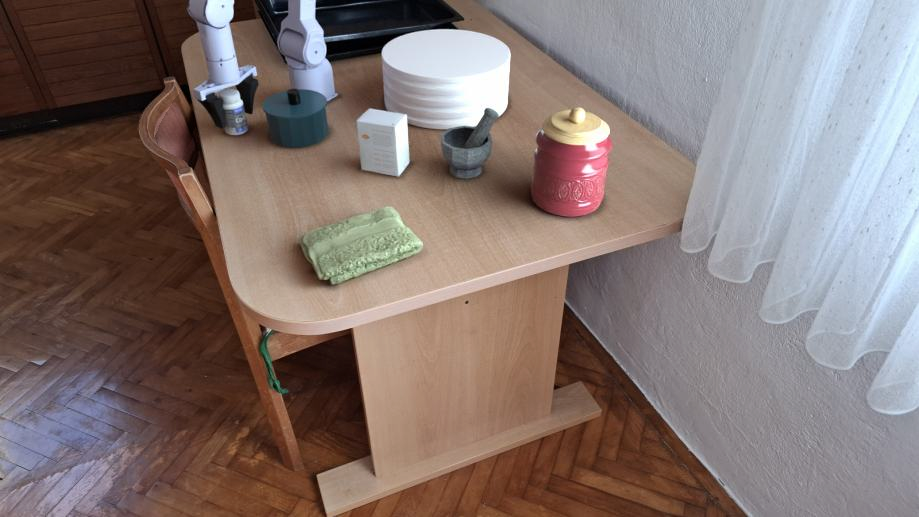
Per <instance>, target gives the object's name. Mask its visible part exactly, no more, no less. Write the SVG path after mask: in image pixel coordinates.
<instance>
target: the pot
mask: <svg viewBox="0 0 919 517" xmlns="http://www.w3.org/2000/svg"><path fill="white" fill-rule="evenodd" d="M265 117H266V122H267V127H268V133H269V137H270V139H271V142H273V144H276V145H278V146H279V147H284V148H290V149H291V148H292V149H297V148H299V149H300V148H305V147H306V148H307V147H311V146H314V145H316V144H319V143H321V142H322V141H324V140H325V139H326V138H327V137H328V135H329V124H328V117H327V106H326V107H325V109H324V110H322V111H321V112H319V113H318V114H315V115H313V116H310V117H306V118H301V119H279V118H274V117H271V116H269V115H267V114H266V113H265Z"/></svg>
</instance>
